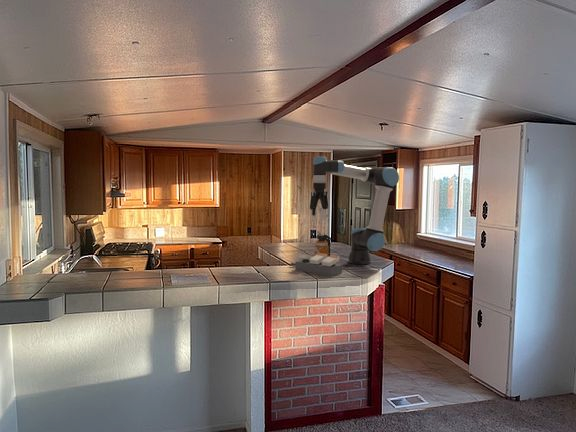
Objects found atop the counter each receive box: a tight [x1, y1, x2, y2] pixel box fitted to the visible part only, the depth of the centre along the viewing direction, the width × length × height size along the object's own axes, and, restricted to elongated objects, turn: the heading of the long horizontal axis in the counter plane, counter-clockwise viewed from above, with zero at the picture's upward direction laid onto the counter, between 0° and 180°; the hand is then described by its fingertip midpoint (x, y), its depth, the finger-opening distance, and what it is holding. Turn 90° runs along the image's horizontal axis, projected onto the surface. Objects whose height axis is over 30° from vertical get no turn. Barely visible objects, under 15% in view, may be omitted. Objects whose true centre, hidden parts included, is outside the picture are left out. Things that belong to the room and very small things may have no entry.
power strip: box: [290, 258, 343, 277], centre depth 273 cm, size 11×35×6 cm, turn 49°
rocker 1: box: [297, 252, 315, 259], centre depth 276 cm, size 10×6×3 cm, turn 140°
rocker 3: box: [321, 254, 341, 266], centre depth 264 cm, size 10×6×3 cm, turn 139°
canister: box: [314, 234, 332, 257], centre depth 288 cm, size 9×11×20 cm
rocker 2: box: [309, 253, 327, 264], centre depth 270 cm, size 10×6×3 cm, turn 139°
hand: (319, 220), depth 268 cm, fingers open, 8 cm apart
